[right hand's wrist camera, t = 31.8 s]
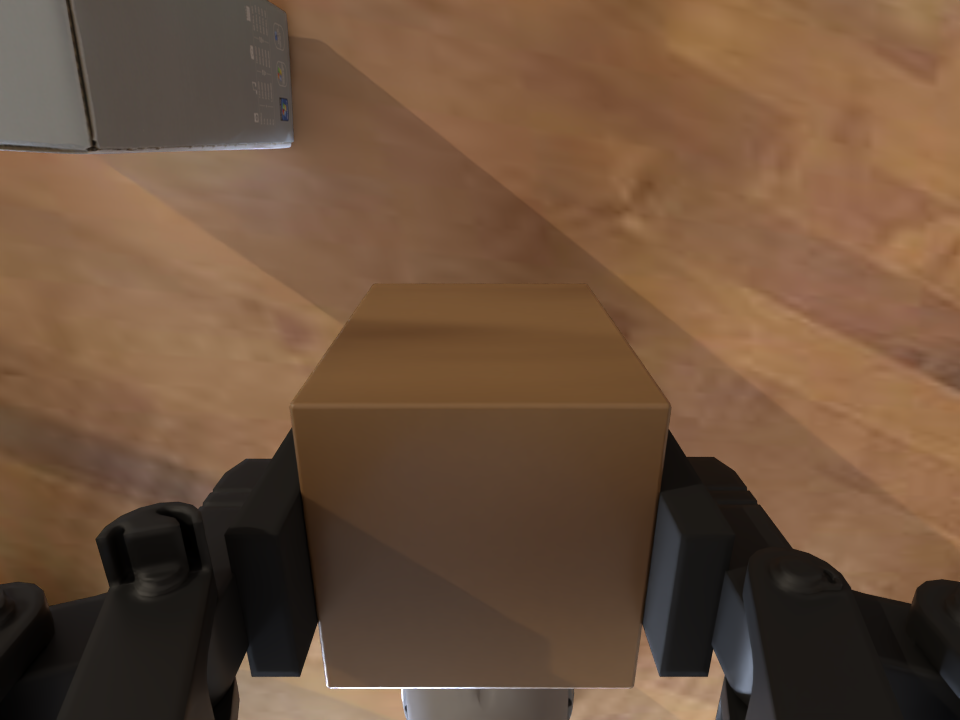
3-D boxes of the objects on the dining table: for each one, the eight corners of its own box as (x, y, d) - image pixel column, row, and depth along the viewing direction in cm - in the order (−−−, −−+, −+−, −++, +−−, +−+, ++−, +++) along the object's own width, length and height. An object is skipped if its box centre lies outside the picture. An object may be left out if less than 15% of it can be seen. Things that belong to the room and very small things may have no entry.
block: (574, 473, 17) (634, 690, 11) (385, 472, 17) (325, 690, 11) (588, 283, 15) (673, 403, 8) (372, 282, 15) (286, 403, 8)
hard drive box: (289, 7, 34) (55, -145, 15) (296, 148, 36) (106, 166, 18) (16, -13, 33) (-568, -194, 15) (44, 131, 36) (-418, 131, 18)
